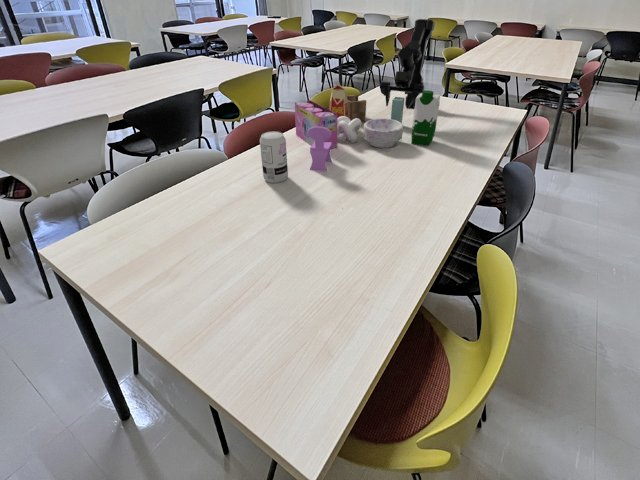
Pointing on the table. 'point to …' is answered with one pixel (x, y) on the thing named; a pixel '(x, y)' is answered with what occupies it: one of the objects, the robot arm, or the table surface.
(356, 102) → the cabinet carcass
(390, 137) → the marble bowl
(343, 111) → the milk carton
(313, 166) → the toy chair
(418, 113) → the soya milk
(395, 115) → the teal rectangular block
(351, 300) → the table surface
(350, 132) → the white knot sculpture
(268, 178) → the supplement can
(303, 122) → the gum box
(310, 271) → the table surface
